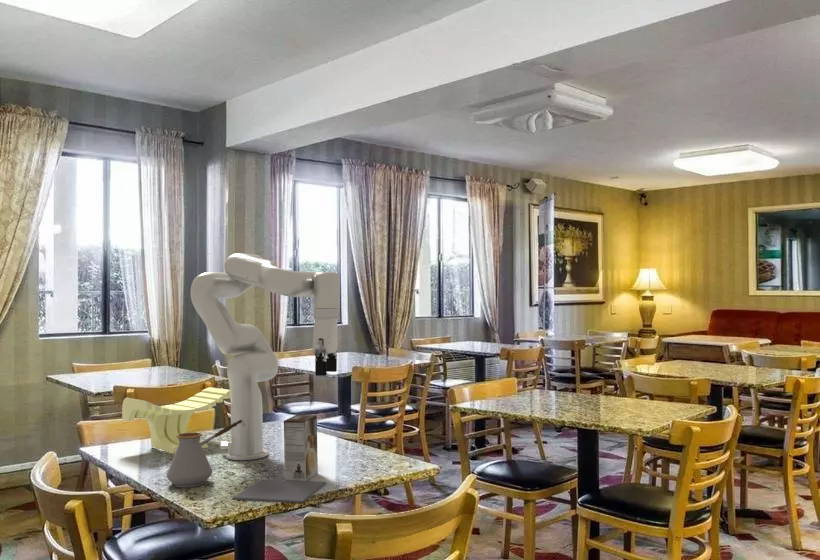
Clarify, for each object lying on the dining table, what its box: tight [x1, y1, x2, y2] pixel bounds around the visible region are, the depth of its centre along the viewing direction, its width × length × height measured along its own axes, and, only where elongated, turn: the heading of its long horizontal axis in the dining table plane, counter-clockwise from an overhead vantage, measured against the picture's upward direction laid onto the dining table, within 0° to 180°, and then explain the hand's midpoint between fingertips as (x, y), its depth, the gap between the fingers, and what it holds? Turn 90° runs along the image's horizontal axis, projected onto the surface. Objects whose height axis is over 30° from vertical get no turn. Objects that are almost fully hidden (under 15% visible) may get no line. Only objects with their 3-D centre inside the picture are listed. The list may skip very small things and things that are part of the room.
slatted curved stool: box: [121, 386, 231, 455], centre depth 228 cm, size 30×16×18 cm, turn 138°
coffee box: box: [283, 414, 319, 481], centre depth 187 cm, size 9×6×16 cm
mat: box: [231, 478, 327, 504], centre depth 173 cm, size 18×17×1 cm
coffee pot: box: [166, 420, 245, 488], centre depth 185 cm, size 21×12×15 cm, turn 129°
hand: (326, 373), depth 200 cm, fingers open, 9 cm apart
